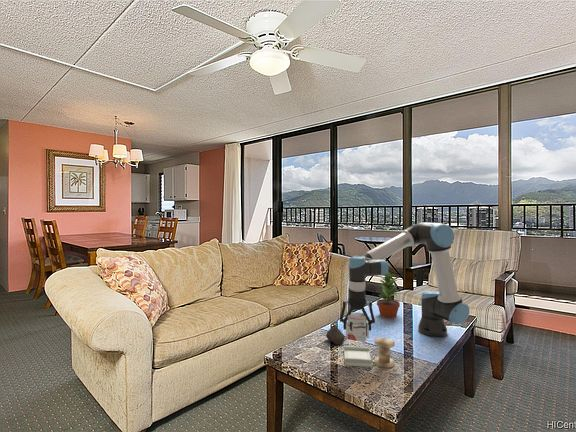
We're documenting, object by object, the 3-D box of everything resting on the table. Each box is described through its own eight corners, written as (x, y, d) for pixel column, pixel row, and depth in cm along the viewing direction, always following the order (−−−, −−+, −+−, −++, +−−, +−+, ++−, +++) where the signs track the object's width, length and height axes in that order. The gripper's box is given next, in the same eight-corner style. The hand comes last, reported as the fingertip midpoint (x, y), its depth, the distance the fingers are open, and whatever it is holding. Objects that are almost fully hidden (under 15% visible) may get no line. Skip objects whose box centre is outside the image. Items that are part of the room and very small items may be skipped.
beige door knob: (392, 358, 153) (392, 337, 153) (396, 368, 144) (396, 346, 144) (373, 357, 154) (373, 337, 154) (375, 367, 145) (375, 345, 145)
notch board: (368, 352, 160) (368, 346, 160) (372, 366, 146) (372, 360, 146) (344, 350, 162) (344, 345, 162) (345, 365, 147) (345, 359, 147)
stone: (346, 349, 172) (344, 331, 179) (345, 342, 167) (342, 324, 174) (328, 351, 174) (326, 333, 181) (326, 344, 168) (324, 326, 175)
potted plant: (404, 319, 206) (404, 272, 205) (380, 319, 206) (380, 272, 206) (396, 311, 221) (396, 267, 220) (374, 311, 221) (374, 268, 220)
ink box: (347, 339, 152) (347, 314, 152) (348, 335, 157) (348, 311, 157) (365, 341, 150) (366, 316, 150) (366, 337, 155) (366, 313, 154)
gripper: (379, 288, 155) (379, 334, 156) (333, 286, 158) (333, 332, 159) (382, 292, 148) (381, 341, 148) (334, 290, 151) (334, 338, 151)
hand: (357, 336), depth 154 cm, fingers closed on ink box, 9 cm apart
